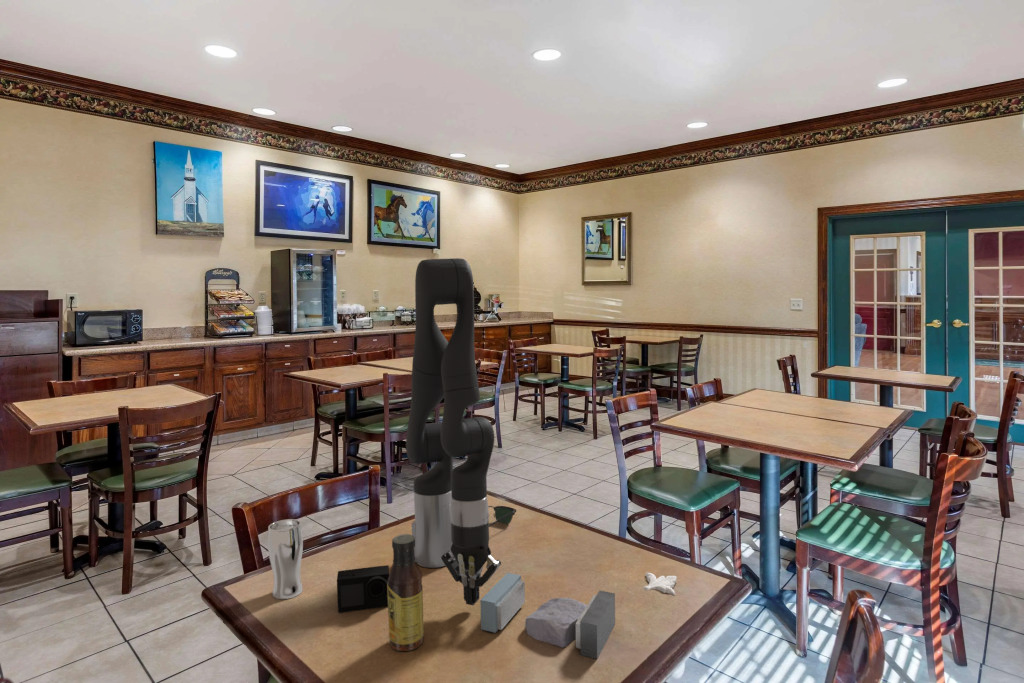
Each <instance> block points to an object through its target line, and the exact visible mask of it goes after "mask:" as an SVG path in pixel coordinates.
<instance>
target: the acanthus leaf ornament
mask: <svg viewBox="0 0 1024 683" xmlns="http://www.w3.org/2000/svg"><path fill="white" fill-rule="evenodd" d="M644 576H645V577H646V581H648V585H645V586H643V590H644V591H650V590H656V591H660V592H662V593H664V594H665V593H666V594H668V595H669V594H670V595H672V596H676V593H675V590H674V588H675V584H676V583H677V581H678V578H677V576H676V575H667V576H665V575H660V576H659V577H656V575H655V574H653V573H651V572H645V574H644Z"/></svg>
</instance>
